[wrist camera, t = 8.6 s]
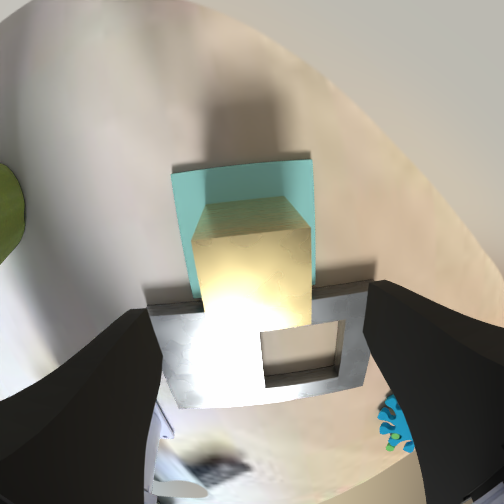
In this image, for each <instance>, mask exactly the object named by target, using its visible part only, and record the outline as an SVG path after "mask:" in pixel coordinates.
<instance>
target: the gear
mask: <svg viewBox="0 0 504 504" xmlns="http://www.w3.org/2000/svg"><path fill="white" fill-rule="evenodd" d="M385 404H386V405H387V406H389V407H390V408H392V409H393V410H394V412H395V414H396V415H391V413H390V411H389V409H388V408H385V407H384V408H382V410H381V411H380V413H379V415H378V417H377V418H378V419H380V420H385V421H389V422H391V423H392V424H393V425H395V426H391V425H390V424H389V423H387V422H383V423H382V424H381V426H380V434H387V433H390V435H391V436H390V438H389V440H388V442H389V443H388V445H387V447H386V450H387V451H393V450H394V448H395V446H396V445H397V444H398V443H400V442H402V441H405V440H411V441H410V442H407V443H406V444H405V446H404V448H403V450H404V451H406V452H409V453H411V452H413V450H414V447H415V446H414V442H413V439H412V436H411V433H410V430H409V428H408V425H407V422H406V419H405V417H404V414H403V412H402V410H401V408H400V405H398V402H397V400H396V398H395V396H394V394H393V395H390V396H389V397H388V398H387V399H386V401H385Z"/></svg>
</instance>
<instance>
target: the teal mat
mask: <svg viewBox="0 0 504 504" xmlns="http://www.w3.org/2000/svg"><path fill="white" fill-rule="evenodd" d="M171 180H172V187H173V193H174V200H175V206H176V212H177V218H178V223H179V229H180V235H181V240H182V245H183V251H184V256H185V261H186V266H187V271H188V276H189V280H190V285H191V290H192V294H193V298H202V295H201V291H200V286H199V281H198V276H197V271H196V266H195V260H194V255H193V250H192V244H191V240H192V237H193V234H194V232H195V229H196V227H197V224H198V222H199V219H200V217H201V214H202V212H203V209H204V207H205V205H206V204H214V203H222V202H230V201H239V200H248V199H257V198H267V197H277V196H285V197H286V199H287V200H288V201H289V202H290V203H291V204H292V206H293V207H294V208H295V209H296V210H297V211H298V213H299V214H300V215H301V216H302V217H303V219H304V220H305V221H306V222H307V223H308V225H309V226H310V227H311V251H312V285H315V208H314V183H313V164H312V160H311V159H305V160H288V161H275V162H263V163H252V164H242V165H233V166H224V167H216V168H208V169H200V170H193V171H186V172H180V173H173V174H171Z"/></svg>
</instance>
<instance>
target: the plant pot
mask: <svg viewBox="0 0 504 504" xmlns="http://www.w3.org/2000/svg"><path fill="white" fill-rule="evenodd" d="M24 206H25V203H24V198H23V194H22V191H21V188H20V185H19V183H18V181H17V179H16V177H15V176H14V174H13V173H12V171H11V170H10V169H9V168H8V167H7V166H5V165H4V164H1V163H0V265H1V263H2V262H3V261H4V260H5V259H6V258H7V256H8V255H9V254H10V253H11V252H12V251H13V250H14V248H15V247H16V246H17V245H18V244H19V242H20V240H21V238H22V236H23V233H24V228H25V222H24Z"/></svg>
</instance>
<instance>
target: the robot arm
mask: <svg viewBox="0 0 504 504" xmlns="http://www.w3.org/2000/svg"><path fill="white" fill-rule="evenodd" d="M362 332H363V334H364V337H365V340H366V342H367V345H368V347H369V350H370V352H371V355H372V357H373V358H374V360H375V362H376V364H377V366H378V367H379V369H380V371H381V373H382V375H383V376H384V378H385V380H386V382H387V383H388V385H389V387H390V389H391V391H392V392H393V394H394V396H395V398H396V400H397V402H398V403H399V405H400V408H401V410H402V412H403V414H404V417H405V419H406V422H407V425H408V428H409V430H410V433H411V436H412V439H413V442H414V446H415V449H416V452H417V456H418V460H419V464H420V467H421V472H422V477H423V481H424V488H425V495H426V502H427V504H463V503H465V502H466V501H468V500H469V499H471V498H472V500H473V503H472V504H504V328H502V327H498V326H495V325H491V324H488V323H485V322H482V321H479V320H476V319H473V318H471V317H468V316H466V315H463V314H461V313H458V312H456V311H454V310H451V309H449V308H447V307H444V306H442V305H440V304H438V303H436V302H434V301H431V300H429V299H427V298H425V297H423V296H421V295H419V294H417V293H415V292H413V291H410V290H408V289H406V288H404V287H402V286H400V285H397V284H395V283H392V282H390V281H387V280H381V281H375V282H369V286H368V295H367V303H366V311H365V318H364V325H363V331H362ZM162 363H163V354H162V351H161V348H160V346H159V343H158V340H157V337H156V334H155V331H154V328H153V325H152V322H151V319H150V316H149V313H148V310H147V308H143V309H130V310H129V311H127V312H126V313H124V314H123V315H122V316H120V317H119V318H118V319H117V320H116V321H114V322H113V323H112V324H111V325H110V326H109V327H107V328H106V329H105V330H104V331H103V332H102V333H100V334H99V335H98V336H97V337H96V338H95V339H93V340H92V341H91V342H90V343H89V344H88V345H86V346H85V347H84V348H83V349H81V350H80V351H79V352H78V353H76V354H75V355H74V356H73V357H72V358H70V359H69V360H68V361H67V362H65V363H64V364H63V365H61V366H60V367H59V368H57V369H56V370H54V371H53V372H51V373H50V374H48V375H47V376H45V377H44V378H42V379H41V380H39V381H38V382H36V383H34V384H33V385H31V386H29V387H27V388H25V389H24V390H22V391H20V392H18V393H16V394H15V395H13V396H11V397H8V398H6V399H4V400H2V401H0V504H156V503H157V495H153V494H152V486H153V479H154V472H155V465H156V458H157V452H158V445H159V439H160V438H161V439H173V438H174V433H173V432H172V430H171V428H170V426H169V425H168V423H167V421H166V419H165V418H164V416H163V414H162V412H161V410H160V408H159V406H158V405H157V403H156V398H157V394H158V390H159V386H160V381H161V373H162Z"/></svg>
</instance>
